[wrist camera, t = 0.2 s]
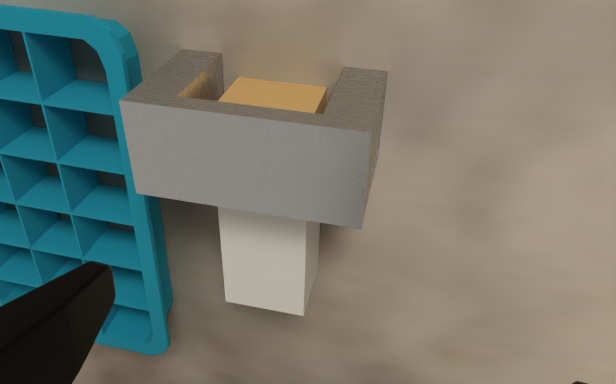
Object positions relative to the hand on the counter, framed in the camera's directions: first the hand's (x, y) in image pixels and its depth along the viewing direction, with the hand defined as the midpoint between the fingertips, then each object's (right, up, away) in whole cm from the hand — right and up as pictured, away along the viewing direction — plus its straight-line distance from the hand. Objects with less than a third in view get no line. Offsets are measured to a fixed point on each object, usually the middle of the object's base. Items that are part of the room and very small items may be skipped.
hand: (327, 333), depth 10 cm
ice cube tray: (-13, +4, +19) cm, 24 cm away
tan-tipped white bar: (-2, +3, +16) cm, 16 cm away
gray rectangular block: (-2, +7, +13) cm, 15 cm away
